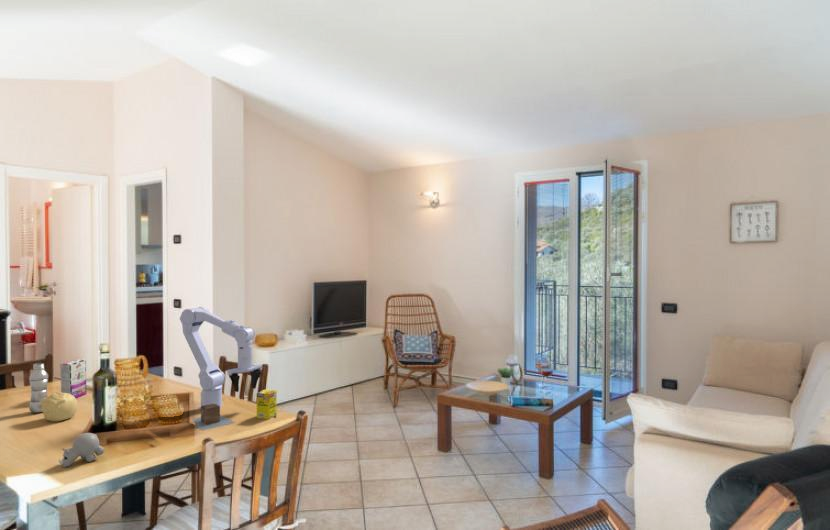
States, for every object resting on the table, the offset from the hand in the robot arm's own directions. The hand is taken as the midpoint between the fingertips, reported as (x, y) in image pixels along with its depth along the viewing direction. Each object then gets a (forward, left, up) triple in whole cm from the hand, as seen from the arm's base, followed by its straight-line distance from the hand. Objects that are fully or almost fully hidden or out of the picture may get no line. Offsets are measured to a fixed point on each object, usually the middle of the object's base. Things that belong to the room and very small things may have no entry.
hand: (245, 389), depth 221 cm
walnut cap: (+5, -17, -8) cm, 20 cm away
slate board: (+5, -17, -9) cm, 20 cm away
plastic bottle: (-60, -61, -10) cm, 86 cm away
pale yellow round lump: (-43, -57, -10) cm, 72 cm away
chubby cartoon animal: (+13, -62, -10) cm, 64 cm away
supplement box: (+14, +2, -10) cm, 17 cm away
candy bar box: (-77, -45, -10) cm, 90 cm away
